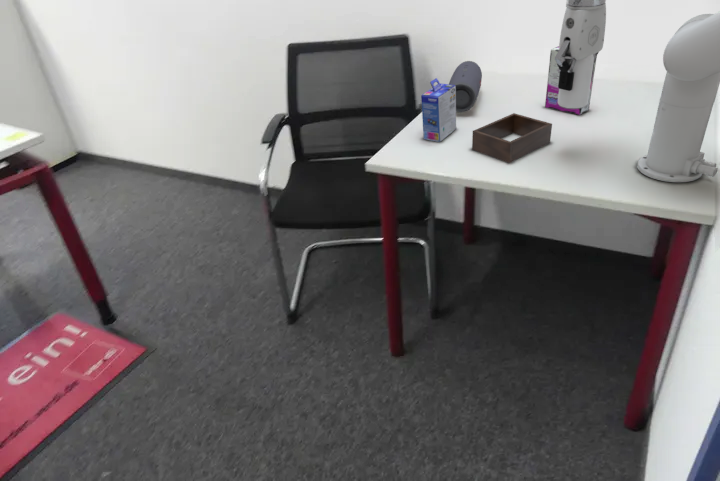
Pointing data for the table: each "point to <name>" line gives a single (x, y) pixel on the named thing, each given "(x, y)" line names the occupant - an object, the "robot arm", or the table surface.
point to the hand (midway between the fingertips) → (574, 84)
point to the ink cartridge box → (439, 111)
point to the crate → (508, 151)
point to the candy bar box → (554, 90)
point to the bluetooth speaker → (466, 85)
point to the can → (578, 85)
